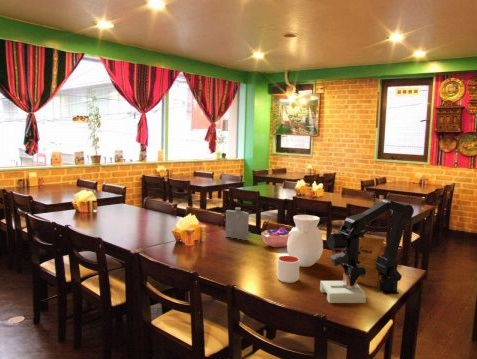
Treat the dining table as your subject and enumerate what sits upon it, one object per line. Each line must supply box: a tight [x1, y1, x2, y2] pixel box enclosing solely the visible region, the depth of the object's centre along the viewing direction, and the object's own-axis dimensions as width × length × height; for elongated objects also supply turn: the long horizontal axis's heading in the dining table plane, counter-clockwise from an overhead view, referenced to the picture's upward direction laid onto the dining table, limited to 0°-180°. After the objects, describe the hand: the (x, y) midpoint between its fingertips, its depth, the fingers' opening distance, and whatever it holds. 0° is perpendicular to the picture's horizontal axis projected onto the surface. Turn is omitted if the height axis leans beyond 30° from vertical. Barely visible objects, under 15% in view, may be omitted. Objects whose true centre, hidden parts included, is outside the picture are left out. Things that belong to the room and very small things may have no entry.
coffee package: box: [357, 234, 385, 288], centre depth 187 cm, size 10×12×22 cm
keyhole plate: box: [319, 280, 367, 304], centre depth 171 cm, size 15×14×4 cm
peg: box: [342, 272, 358, 289], centre depth 171 cm, size 4×4×9 cm
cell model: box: [260, 226, 291, 248], centre depth 244 cm, size 17×20×11 cm
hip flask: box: [225, 206, 250, 241], centre depth 258 cm, size 16×4×20 cm, turn 62°
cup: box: [276, 255, 300, 284], centre depth 188 cm, size 10×10×10 cm
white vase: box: [286, 214, 324, 268], centre depth 211 cm, size 19×18×25 cm
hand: (349, 283), depth 171 cm, fingers closed on peg, 4 cm apart
